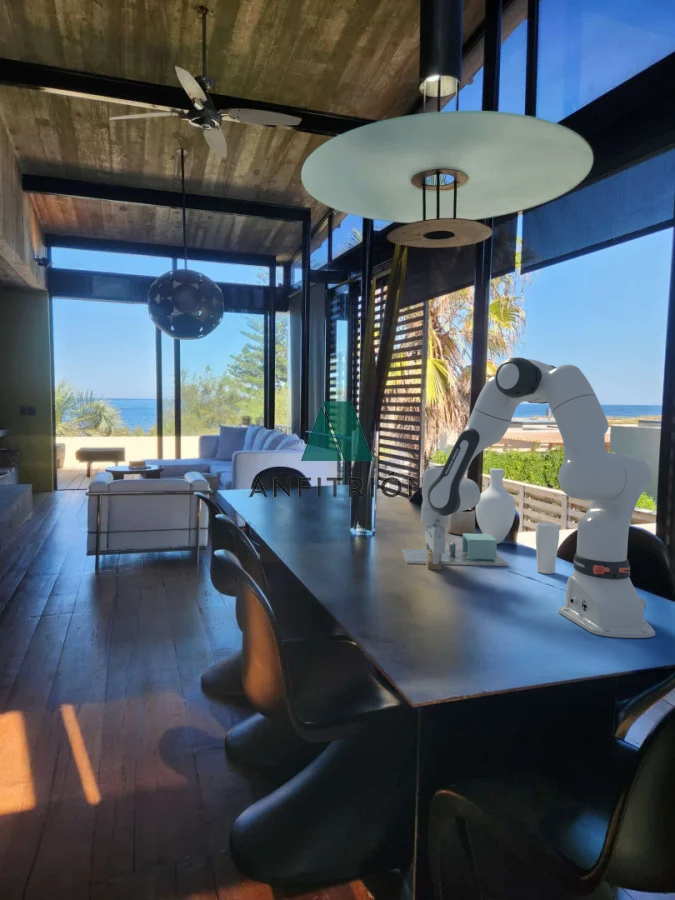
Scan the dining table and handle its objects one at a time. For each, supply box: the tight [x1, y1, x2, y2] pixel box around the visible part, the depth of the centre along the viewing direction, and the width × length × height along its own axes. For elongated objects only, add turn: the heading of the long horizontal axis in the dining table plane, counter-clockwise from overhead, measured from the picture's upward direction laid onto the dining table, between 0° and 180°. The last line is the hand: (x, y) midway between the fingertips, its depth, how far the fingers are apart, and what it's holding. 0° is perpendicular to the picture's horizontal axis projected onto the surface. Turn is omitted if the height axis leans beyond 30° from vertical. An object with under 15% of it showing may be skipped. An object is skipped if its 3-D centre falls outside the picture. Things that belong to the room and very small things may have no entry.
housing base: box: [401, 542, 509, 567], centre depth 194 cm, size 16×32×5 cm, turn 89°
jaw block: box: [425, 549, 442, 570], centre depth 182 cm, size 4×4×5 cm
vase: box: [475, 467, 516, 545], centre depth 219 cm, size 14×14×28 cm
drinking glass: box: [535, 521, 560, 575], centre depth 179 cm, size 7×7×15 cm
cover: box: [461, 533, 498, 560], centre depth 194 cm, size 10×9×6 cm
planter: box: [446, 508, 476, 536], centre depth 238 cm, size 11×11×10 cm
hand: (433, 561), depth 182 cm, fingers closed on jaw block, 4 cm apart
